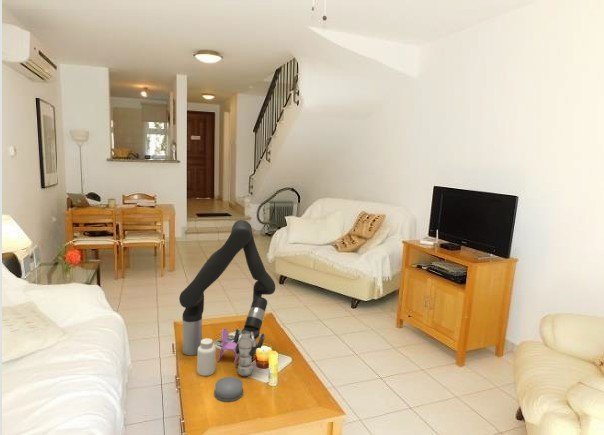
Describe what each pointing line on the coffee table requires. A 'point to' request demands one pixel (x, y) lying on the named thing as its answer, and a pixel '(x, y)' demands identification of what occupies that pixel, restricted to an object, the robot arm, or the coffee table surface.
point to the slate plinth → (228, 389)
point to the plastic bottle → (245, 354)
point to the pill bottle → (206, 357)
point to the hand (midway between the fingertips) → (244, 354)
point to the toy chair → (227, 344)
